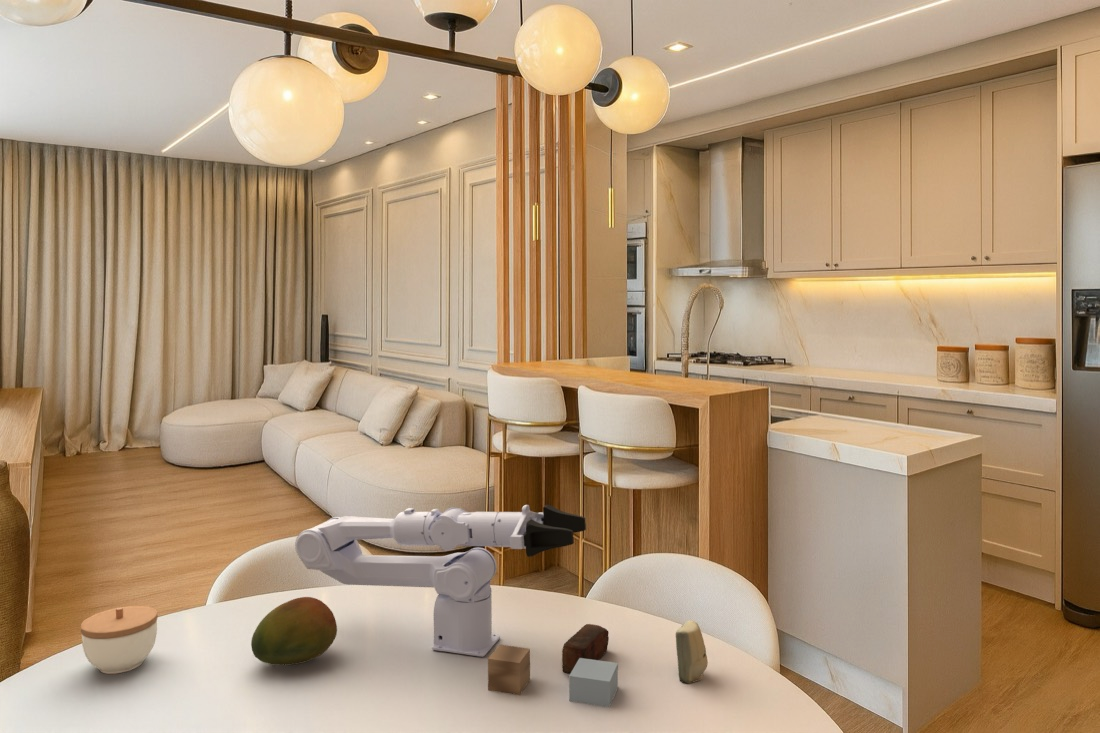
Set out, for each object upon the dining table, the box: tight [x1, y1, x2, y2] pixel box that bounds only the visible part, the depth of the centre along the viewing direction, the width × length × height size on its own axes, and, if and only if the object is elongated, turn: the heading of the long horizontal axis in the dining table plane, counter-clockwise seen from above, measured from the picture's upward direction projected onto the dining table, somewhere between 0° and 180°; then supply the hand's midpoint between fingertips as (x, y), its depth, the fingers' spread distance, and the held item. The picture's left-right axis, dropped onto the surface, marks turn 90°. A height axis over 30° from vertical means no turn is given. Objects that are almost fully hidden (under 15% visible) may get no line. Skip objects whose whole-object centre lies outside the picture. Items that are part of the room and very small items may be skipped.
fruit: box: [250, 596, 338, 666], centre depth 122 cm, size 12×13×10 cm
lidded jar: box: [79, 605, 159, 675], centre depth 121 cm, size 11×11×9 cm
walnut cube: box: [487, 644, 531, 696], centre depth 114 cm, size 5×5×5 cm
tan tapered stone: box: [675, 619, 709, 684], centre depth 117 cm, size 6×5×8 cm
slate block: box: [568, 658, 619, 708], centre depth 112 cm, size 6×6×4 cm
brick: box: [561, 623, 610, 675], centre depth 122 cm, size 11×4×5 cm, turn 154°
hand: (579, 530), depth 121 cm, fingers open, 7 cm apart
